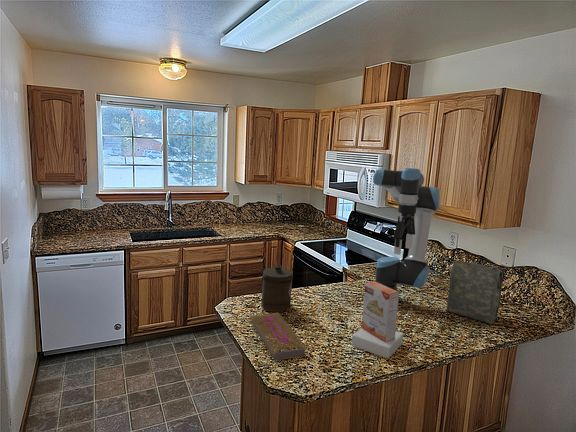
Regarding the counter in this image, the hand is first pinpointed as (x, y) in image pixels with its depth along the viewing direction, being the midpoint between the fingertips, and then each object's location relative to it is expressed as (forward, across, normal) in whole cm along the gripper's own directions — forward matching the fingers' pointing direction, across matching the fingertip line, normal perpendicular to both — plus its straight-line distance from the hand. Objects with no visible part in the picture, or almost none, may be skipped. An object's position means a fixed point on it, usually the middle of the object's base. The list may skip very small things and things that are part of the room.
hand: (402, 251), depth 175 cm
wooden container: (+37, -18, +56) cm, 69 cm away
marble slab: (+37, -20, 0) cm, 42 cm away
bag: (+37, +42, -24) cm, 61 cm away
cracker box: (+32, -20, 0) cm, 38 cm away
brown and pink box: (+37, -44, +35) cm, 68 cm away
